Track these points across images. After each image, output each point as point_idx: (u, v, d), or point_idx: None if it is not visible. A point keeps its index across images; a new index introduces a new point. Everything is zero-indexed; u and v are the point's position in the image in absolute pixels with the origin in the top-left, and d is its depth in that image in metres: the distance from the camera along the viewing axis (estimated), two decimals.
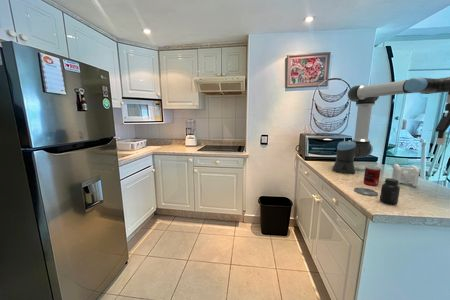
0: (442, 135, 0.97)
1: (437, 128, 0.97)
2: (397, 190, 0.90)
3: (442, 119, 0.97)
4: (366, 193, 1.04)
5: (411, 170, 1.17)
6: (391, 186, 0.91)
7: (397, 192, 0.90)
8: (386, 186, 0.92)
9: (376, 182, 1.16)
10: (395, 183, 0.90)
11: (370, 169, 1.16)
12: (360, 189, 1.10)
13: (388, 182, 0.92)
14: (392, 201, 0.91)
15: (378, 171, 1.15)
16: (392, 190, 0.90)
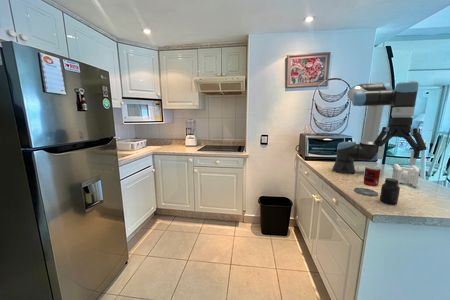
0: (378, 149, 0.97)
1: None
2: (397, 190, 0.90)
3: None
4: (366, 193, 1.04)
5: (411, 170, 1.17)
6: (391, 186, 0.91)
7: (397, 192, 0.90)
8: (386, 186, 0.92)
9: (376, 182, 1.16)
10: (395, 183, 0.90)
11: (370, 169, 1.16)
12: (360, 189, 1.10)
13: (388, 182, 0.92)
14: (392, 201, 0.91)
15: (378, 171, 1.15)
16: (392, 190, 0.90)
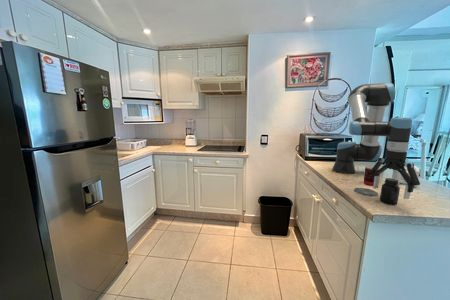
0: (374, 178, 0.99)
1: None
2: (397, 190, 0.90)
3: None
4: (366, 193, 1.04)
5: None
6: (391, 186, 0.91)
7: (397, 192, 0.90)
8: (386, 186, 0.92)
9: None
10: (395, 183, 0.90)
11: (370, 169, 1.16)
12: (360, 189, 1.10)
13: (388, 182, 0.92)
14: (392, 201, 0.91)
15: None
16: (392, 190, 0.90)
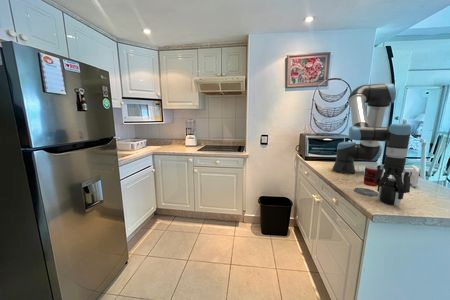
0: (378, 189, 0.98)
1: None
2: (397, 190, 0.90)
3: None
4: (366, 193, 1.04)
5: (411, 170, 1.17)
6: (391, 186, 0.91)
7: None
8: (386, 186, 0.92)
9: None
10: (395, 183, 0.90)
11: (370, 169, 1.16)
12: (360, 189, 1.10)
13: (388, 182, 0.92)
14: (392, 201, 0.91)
15: None
16: (392, 190, 0.90)
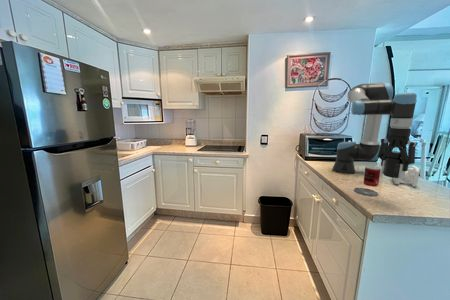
0: (382, 163, 0.95)
1: None
2: (401, 162, 0.88)
3: None
4: (366, 193, 1.04)
5: (411, 170, 1.17)
6: (395, 158, 0.88)
7: None
8: (390, 159, 0.90)
9: (376, 182, 1.16)
10: (399, 155, 0.88)
11: (370, 169, 1.16)
12: (360, 189, 1.10)
13: (392, 154, 0.89)
14: (396, 174, 0.89)
15: (378, 171, 1.15)
16: (396, 162, 0.88)
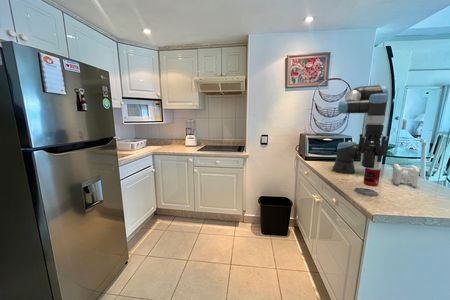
0: (361, 155, 1.08)
1: None
2: (376, 154, 1.00)
3: None
4: (366, 193, 1.04)
5: (411, 170, 1.17)
6: (371, 150, 1.01)
7: None
8: (367, 151, 1.02)
9: (376, 182, 1.16)
10: (374, 148, 1.00)
11: (370, 169, 1.16)
12: (360, 189, 1.10)
13: (368, 147, 1.02)
14: (372, 164, 1.01)
15: (378, 171, 1.15)
16: (372, 154, 1.00)
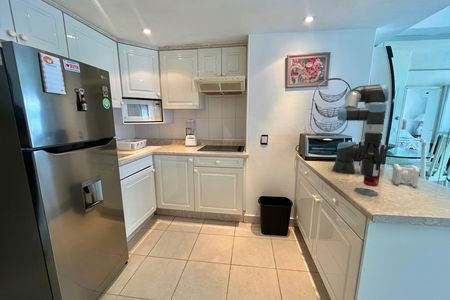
0: (360, 163, 1.09)
1: None
2: (375, 162, 1.01)
3: None
4: (366, 193, 1.04)
5: (411, 170, 1.17)
6: (370, 159, 1.02)
7: None
8: (366, 159, 1.03)
9: (376, 182, 1.16)
10: (373, 156, 1.01)
11: None
12: (360, 189, 1.10)
13: (367, 155, 1.03)
14: (371, 172, 1.02)
15: (378, 171, 1.15)
16: (370, 162, 1.01)
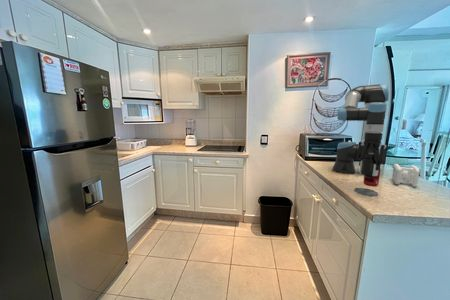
0: (360, 163, 1.09)
1: None
2: (375, 162, 1.01)
3: None
4: (366, 193, 1.04)
5: (411, 170, 1.17)
6: (370, 159, 1.02)
7: None
8: (366, 159, 1.03)
9: (376, 182, 1.16)
10: (373, 156, 1.01)
11: None
12: (360, 189, 1.10)
13: (367, 155, 1.03)
14: (371, 172, 1.02)
15: (378, 171, 1.15)
16: (370, 162, 1.01)
